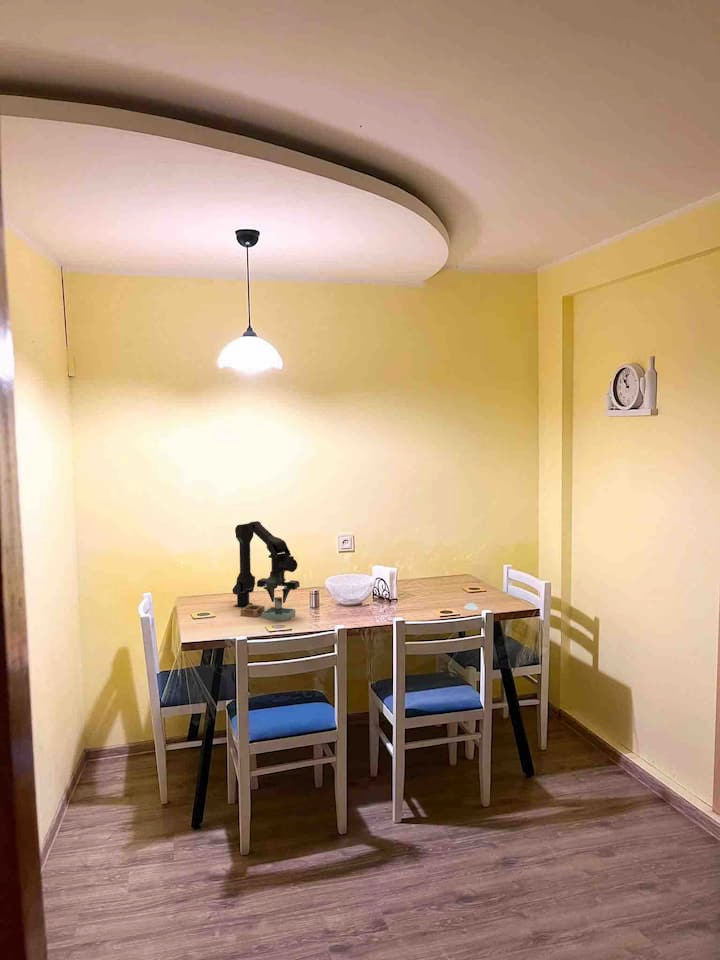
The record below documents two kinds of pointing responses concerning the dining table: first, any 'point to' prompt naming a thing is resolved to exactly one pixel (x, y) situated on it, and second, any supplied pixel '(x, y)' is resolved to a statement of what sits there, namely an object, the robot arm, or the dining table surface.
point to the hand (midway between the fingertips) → (278, 602)
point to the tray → (285, 615)
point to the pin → (278, 605)
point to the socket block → (252, 610)
